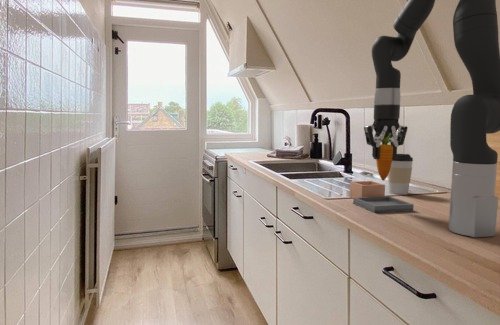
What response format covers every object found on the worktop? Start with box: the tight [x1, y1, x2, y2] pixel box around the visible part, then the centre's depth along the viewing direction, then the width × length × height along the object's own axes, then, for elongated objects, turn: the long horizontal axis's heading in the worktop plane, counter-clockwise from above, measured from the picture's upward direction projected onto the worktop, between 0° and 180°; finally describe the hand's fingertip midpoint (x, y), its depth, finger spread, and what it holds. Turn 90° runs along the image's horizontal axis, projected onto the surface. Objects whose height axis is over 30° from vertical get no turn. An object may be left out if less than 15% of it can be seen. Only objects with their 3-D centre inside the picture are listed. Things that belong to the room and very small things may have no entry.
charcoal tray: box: [352, 195, 414, 214], centre depth 121 cm, size 13×13×2 cm
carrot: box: [375, 133, 393, 182], centre depth 119 cm, size 5×5×15 cm
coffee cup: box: [387, 153, 414, 195], centre depth 145 cm, size 9×9×15 cm
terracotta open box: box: [348, 180, 386, 199], centre depth 134 cm, size 9×9×6 cm
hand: (384, 158), depth 119 cm, fingers closed on carrot, 5 cm apart
